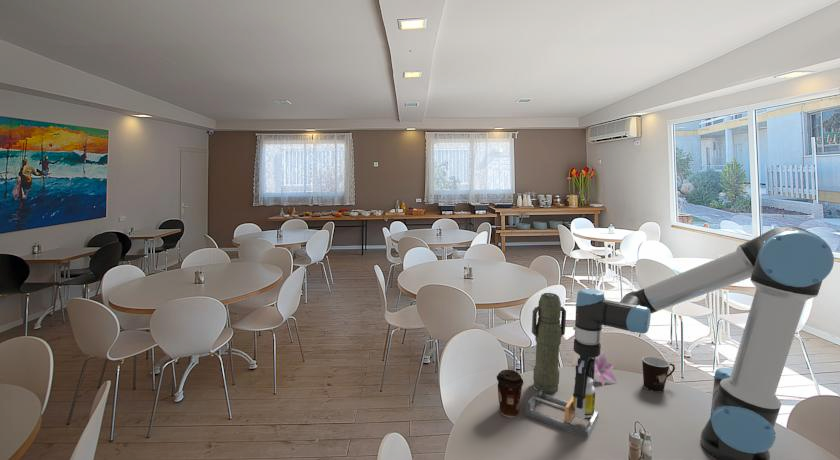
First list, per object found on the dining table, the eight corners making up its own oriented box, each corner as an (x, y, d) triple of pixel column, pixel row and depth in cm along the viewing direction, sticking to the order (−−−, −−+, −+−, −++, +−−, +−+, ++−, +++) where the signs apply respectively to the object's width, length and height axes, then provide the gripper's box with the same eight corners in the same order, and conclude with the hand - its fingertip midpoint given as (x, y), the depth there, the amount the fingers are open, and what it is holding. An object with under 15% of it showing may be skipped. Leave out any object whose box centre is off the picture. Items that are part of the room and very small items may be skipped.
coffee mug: (643, 391, 141) (645, 365, 140) (637, 379, 149) (639, 355, 148) (680, 396, 137) (682, 369, 136) (672, 384, 146) (674, 359, 144)
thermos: (525, 382, 146) (528, 292, 142) (553, 379, 149) (558, 290, 144) (536, 395, 138) (540, 299, 133) (566, 391, 140) (571, 297, 136)
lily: (583, 386, 146) (597, 370, 141) (575, 362, 156) (588, 346, 151) (613, 395, 147) (627, 379, 142) (603, 370, 157) (616, 355, 152)
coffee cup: (491, 414, 126) (492, 376, 124) (499, 402, 133) (500, 366, 131) (518, 422, 122) (520, 383, 120) (524, 409, 129) (526, 372, 127)
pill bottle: (596, 419, 117) (598, 385, 116) (574, 417, 118) (576, 382, 117) (591, 408, 123) (593, 375, 122) (570, 405, 124) (572, 373, 123)
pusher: (576, 411, 127) (577, 394, 126) (567, 426, 119) (568, 407, 118) (537, 398, 135) (538, 381, 134) (526, 411, 127) (527, 393, 126)
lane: (598, 417, 125) (599, 405, 124) (587, 438, 114) (588, 425, 114) (540, 397, 136) (540, 386, 135) (525, 414, 126) (526, 403, 125)
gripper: (583, 328, 128) (578, 394, 131) (564, 347, 113) (560, 421, 116) (607, 333, 123) (603, 402, 126) (592, 354, 108) (587, 431, 111)
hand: (582, 411), depth 121 cm, fingers closed on pill bottle, 6 cm apart
